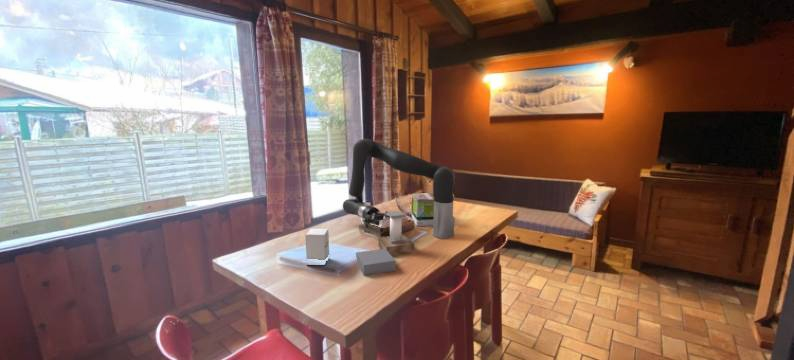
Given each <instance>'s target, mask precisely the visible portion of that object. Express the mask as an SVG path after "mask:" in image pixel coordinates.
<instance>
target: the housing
mask: <svg viewBox="0 0 794 360" xmlns="http://www.w3.org/2000/svg"><path fill="white" fill-rule="evenodd" d="M387 215H388V216H389V217H390V220H389V235H388V237H387V239H388V241H389V242H390V243H391V244H393V243H400V242H405V239H403V238H402V234H403V233H402V232H403V231H402V230H403V229H402V228H403V227H402V224H403V223H402V221H403V219H402V218H405V217H406V214H405V213H404V212H402V211H401V210H398V211H397V210H395V211H388V212H387Z"/></svg>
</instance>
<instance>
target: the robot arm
mask: <svg viewBox="0 0 794 360" xmlns="http://www.w3.org/2000/svg"><path fill="white" fill-rule="evenodd" d="M352 148H353V149H352V169H351V178H350V185H349V189H348V193H349V194H348V195H349V196H351V197H354V198H348V199H346V200H344V201H343V203H342V209H343V211H344V212H345V213H346V214H349V215H353V216H354V215H355V216H357V217H359V218H361V219H362V222H363V223H365V224H367V225H371V224H372V225H376V226H380V222H381V221H390V217H389V216H388V215H387V212H389V211H387V210H386V211H385V212H381V211H380V210H379V208H378V207H375V206H374V205H373V206H372V204H371V205H370V204H367V203H364V199H363V198H364V197H363V192H364V187H365V180H366V178H365V167H366V166H365V165H366V162H367V159H368V158H369V157H370V158H374V159H377V160H380V161H382V162H384V163H386V165H388V166H390V168H392V169H394V170H397V171H399V172H402V173H403V174H404V173H405V174H407V175H415V176H420V177H421V176H422V177H425V178H428V179H431V180H432V189H433V190H432V197H433V198H434V215H433V226H432V236H433V237H435V238H437V239H442V240H443V239H444V240H446V239H450V238H452V237H455V219H456V218H455V217H454V200H455V199H454V197H455V196H454V182H455V179H456V173H455V171H454V170H453V169H452V168H451V167H448V166H446V165H445V166H444V165H442V164H441V165H440V164H437V163H433V162H429V161H427V160H426V159H425V160H424V159H423V158H420V157H418V156H416V155H413V154H411V153H407V152H404V151H402V150H398V149H395V148H392V147H388V146H385V145H383V144H380V143H379V142H376V141H375V140H372V139H370V138H363V139H359V140H357V141H356V142H355V143H354V145H353V147H352Z"/></svg>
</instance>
